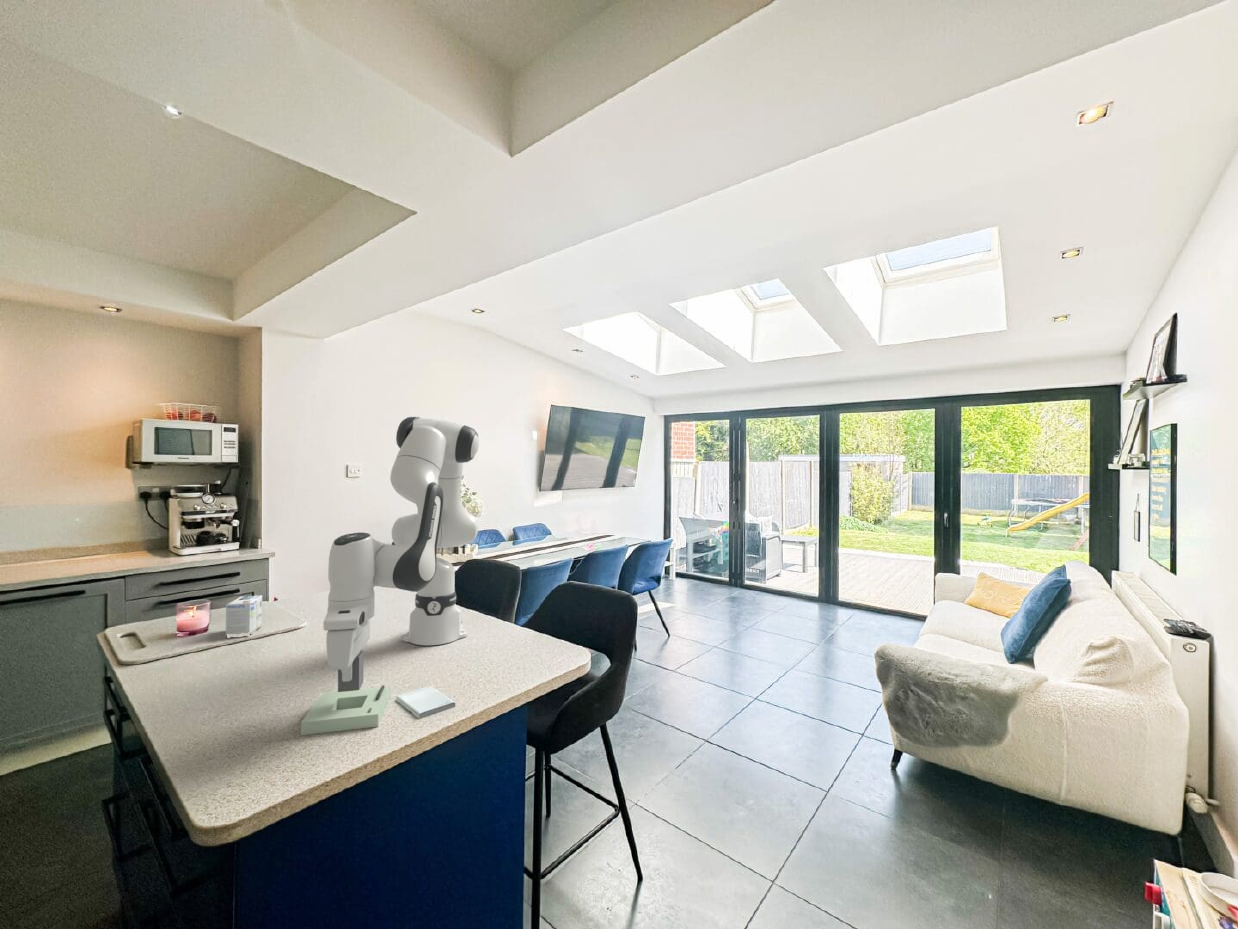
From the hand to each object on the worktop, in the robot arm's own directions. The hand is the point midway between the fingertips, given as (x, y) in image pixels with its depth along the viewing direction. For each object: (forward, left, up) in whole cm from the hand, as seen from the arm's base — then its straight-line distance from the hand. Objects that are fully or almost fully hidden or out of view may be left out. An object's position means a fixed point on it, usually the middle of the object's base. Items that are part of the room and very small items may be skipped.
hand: (350, 675), depth 109 cm
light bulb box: (-69, -47, -9) cm, 84 cm away
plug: (0, 0, -3) cm, 3 cm away
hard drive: (-2, +15, -9) cm, 18 cm away
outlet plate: (0, 0, -8) cm, 8 cm away
